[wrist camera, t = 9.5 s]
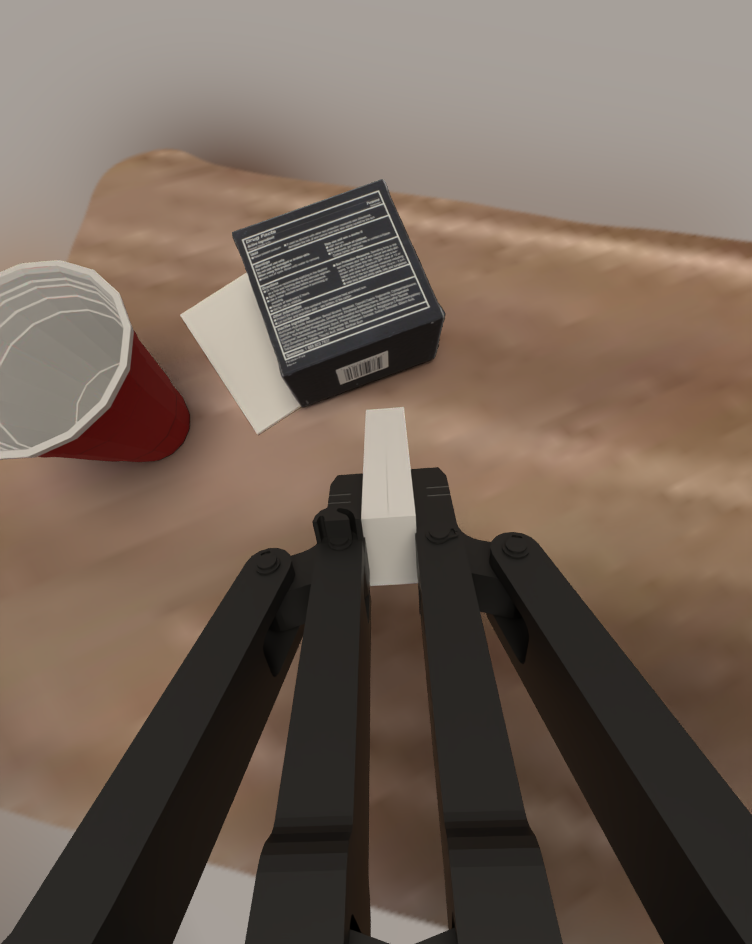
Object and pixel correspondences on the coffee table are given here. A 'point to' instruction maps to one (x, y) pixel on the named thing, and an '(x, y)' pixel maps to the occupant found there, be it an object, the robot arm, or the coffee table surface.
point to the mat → (242, 352)
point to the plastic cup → (79, 372)
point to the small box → (341, 292)
